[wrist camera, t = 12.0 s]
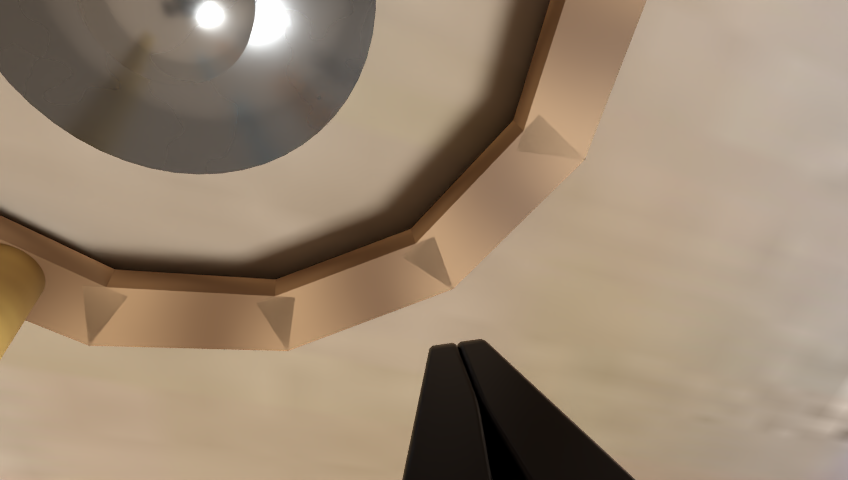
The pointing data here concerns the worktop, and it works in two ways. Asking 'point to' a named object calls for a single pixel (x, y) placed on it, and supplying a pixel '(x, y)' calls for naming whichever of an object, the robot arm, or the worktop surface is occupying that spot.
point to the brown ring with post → (356, 270)
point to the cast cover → (187, 74)
